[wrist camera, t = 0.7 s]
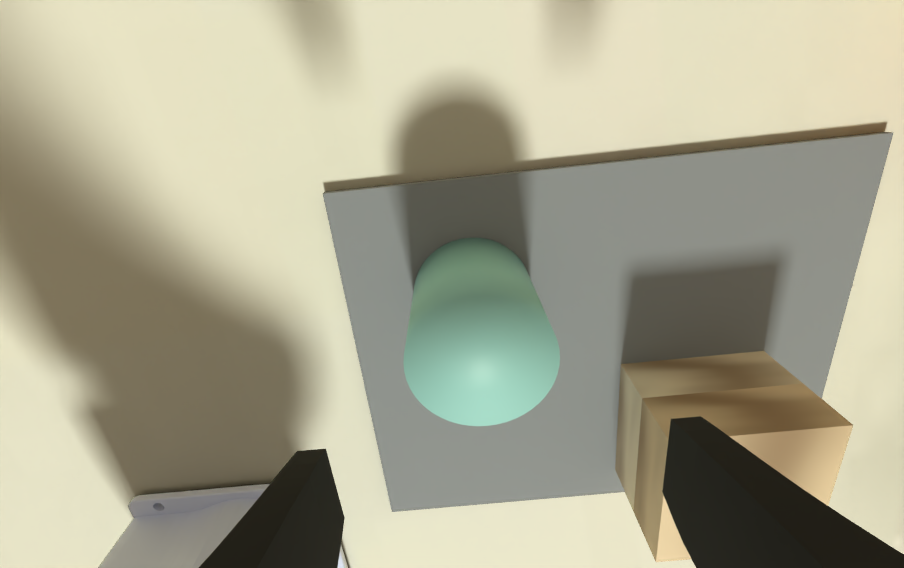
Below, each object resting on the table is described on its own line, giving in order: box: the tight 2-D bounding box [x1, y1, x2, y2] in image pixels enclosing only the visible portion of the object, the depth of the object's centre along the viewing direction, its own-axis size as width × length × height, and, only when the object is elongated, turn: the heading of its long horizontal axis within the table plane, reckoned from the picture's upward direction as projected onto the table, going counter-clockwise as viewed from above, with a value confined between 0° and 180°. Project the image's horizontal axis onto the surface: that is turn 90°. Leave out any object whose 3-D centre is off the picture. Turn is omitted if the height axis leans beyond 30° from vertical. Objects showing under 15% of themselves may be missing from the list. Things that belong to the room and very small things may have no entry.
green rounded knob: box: [403, 238, 560, 426], centre depth 16 cm, size 5×5×5 cm
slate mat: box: [323, 132, 893, 512], centre depth 19 cm, size 20×16×1 cm
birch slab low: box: [615, 351, 802, 510], centre depth 19 cm, size 6×6×2 cm
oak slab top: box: [633, 383, 853, 562], centre depth 17 cm, size 6×6×2 cm
